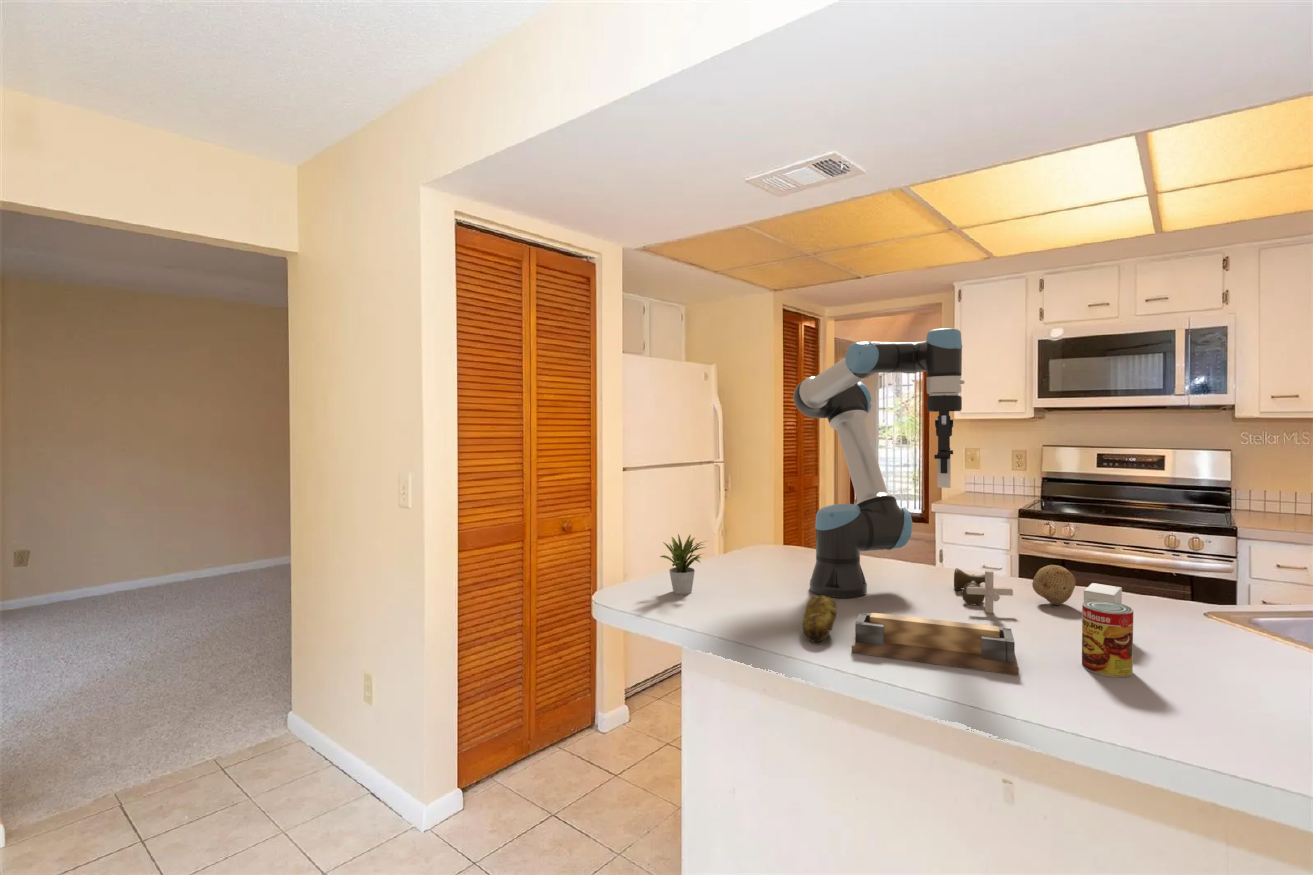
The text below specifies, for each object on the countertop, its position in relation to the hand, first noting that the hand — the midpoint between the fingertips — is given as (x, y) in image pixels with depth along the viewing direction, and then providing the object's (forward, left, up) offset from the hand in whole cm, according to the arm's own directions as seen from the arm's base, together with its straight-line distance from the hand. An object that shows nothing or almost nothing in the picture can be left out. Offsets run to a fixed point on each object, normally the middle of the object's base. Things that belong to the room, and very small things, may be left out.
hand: (944, 484), depth 152 cm
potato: (-1, -35, -32) cm, 47 cm away
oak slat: (+17, -20, -30) cm, 40 cm away
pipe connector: (+2, +12, -32) cm, 34 cm away
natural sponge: (+4, +31, -32) cm, 45 cm away
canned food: (+36, +4, -32) cm, 48 cm away
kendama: (-10, +20, -32) cm, 39 cm away
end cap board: (+17, -20, -32) cm, 41 cm away
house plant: (-43, -50, -32) cm, 73 cm away
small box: (+24, +20, -32) cm, 45 cm away
